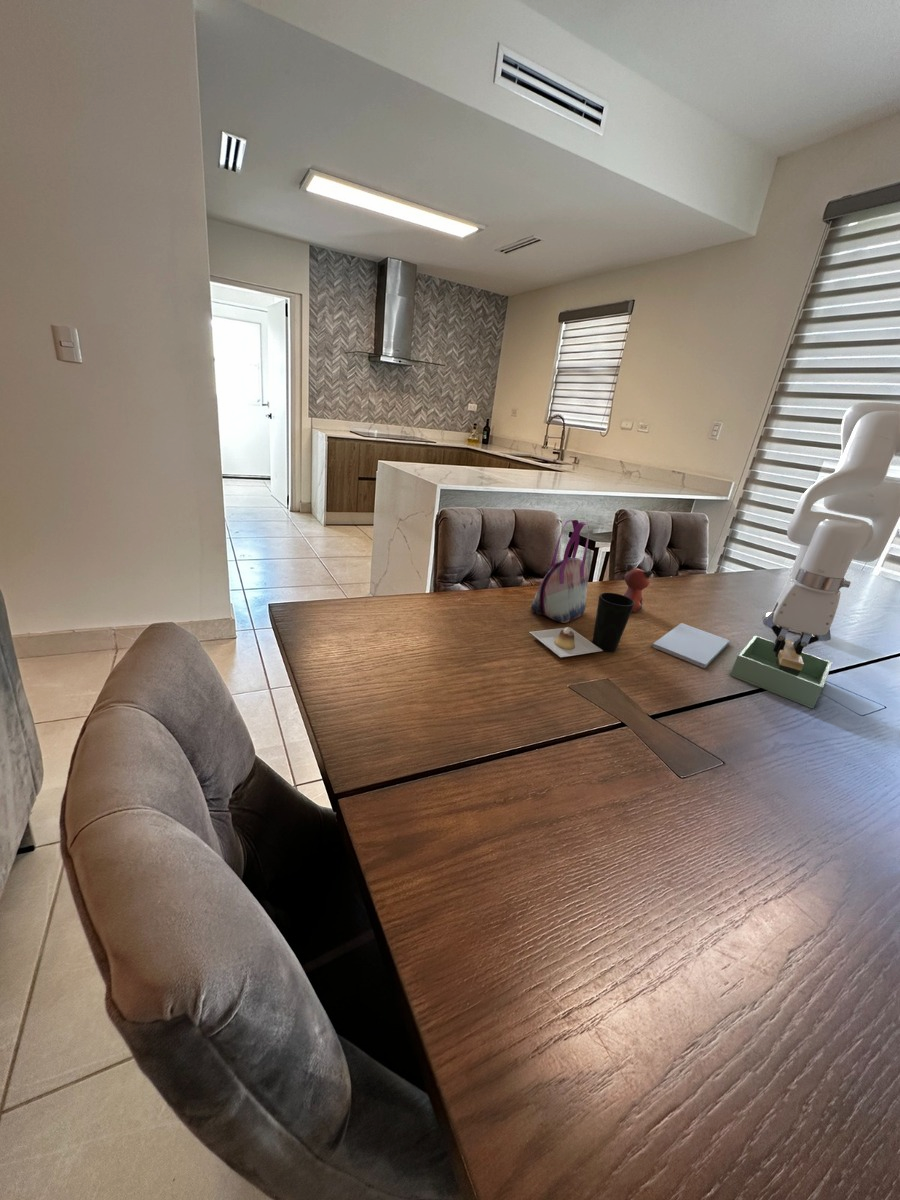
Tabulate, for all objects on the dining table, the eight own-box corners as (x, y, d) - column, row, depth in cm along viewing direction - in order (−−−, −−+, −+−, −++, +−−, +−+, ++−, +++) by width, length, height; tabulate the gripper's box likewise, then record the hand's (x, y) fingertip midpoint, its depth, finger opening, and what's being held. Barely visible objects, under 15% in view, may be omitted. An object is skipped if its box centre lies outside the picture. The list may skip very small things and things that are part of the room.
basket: (747, 653, 115) (755, 635, 113) (822, 681, 106) (832, 662, 104) (729, 675, 104) (737, 655, 102) (812, 708, 94) (823, 687, 92)
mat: (680, 626, 126) (681, 622, 126) (728, 643, 119) (729, 640, 119) (651, 647, 112) (653, 643, 112) (704, 668, 105) (705, 664, 105)
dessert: (568, 631, 115) (572, 613, 114) (602, 655, 106) (607, 636, 104) (528, 636, 110) (531, 617, 108) (559, 661, 100) (564, 642, 99)
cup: (623, 657, 106) (637, 608, 101) (588, 650, 107) (601, 602, 102) (618, 642, 113) (631, 596, 108) (586, 635, 114) (598, 590, 109)
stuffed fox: (606, 609, 131) (617, 569, 127) (619, 599, 140) (629, 561, 135) (633, 618, 127) (645, 577, 123) (644, 607, 136) (656, 568, 131)
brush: (772, 648, 109) (777, 637, 108) (791, 653, 107) (796, 642, 106) (777, 670, 99) (782, 658, 98) (798, 676, 98) (804, 664, 96)
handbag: (550, 630, 115) (572, 530, 105) (518, 615, 121) (535, 519, 111) (593, 611, 129) (616, 522, 120) (562, 598, 135) (581, 513, 126)
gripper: (860, 585, 98) (823, 661, 105) (771, 566, 104) (742, 639, 111) (869, 596, 91) (829, 676, 99) (775, 575, 98) (744, 652, 105)
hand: (784, 656), depth 105 cm, fingers closed on brush, 2 cm apart
